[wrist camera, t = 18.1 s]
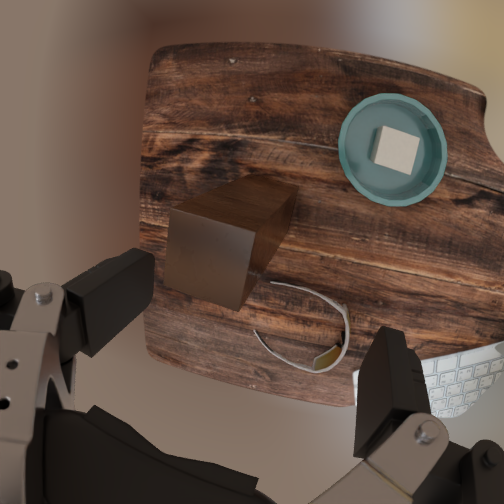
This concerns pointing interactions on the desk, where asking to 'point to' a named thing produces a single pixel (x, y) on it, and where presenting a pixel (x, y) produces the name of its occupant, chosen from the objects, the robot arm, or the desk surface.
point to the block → (394, 149)
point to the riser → (227, 239)
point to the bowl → (383, 178)
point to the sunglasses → (330, 356)
